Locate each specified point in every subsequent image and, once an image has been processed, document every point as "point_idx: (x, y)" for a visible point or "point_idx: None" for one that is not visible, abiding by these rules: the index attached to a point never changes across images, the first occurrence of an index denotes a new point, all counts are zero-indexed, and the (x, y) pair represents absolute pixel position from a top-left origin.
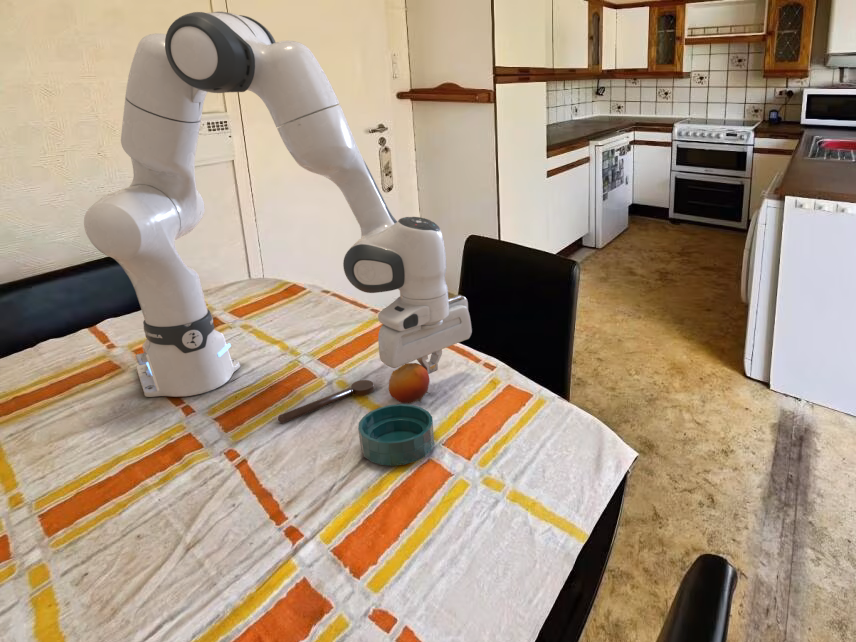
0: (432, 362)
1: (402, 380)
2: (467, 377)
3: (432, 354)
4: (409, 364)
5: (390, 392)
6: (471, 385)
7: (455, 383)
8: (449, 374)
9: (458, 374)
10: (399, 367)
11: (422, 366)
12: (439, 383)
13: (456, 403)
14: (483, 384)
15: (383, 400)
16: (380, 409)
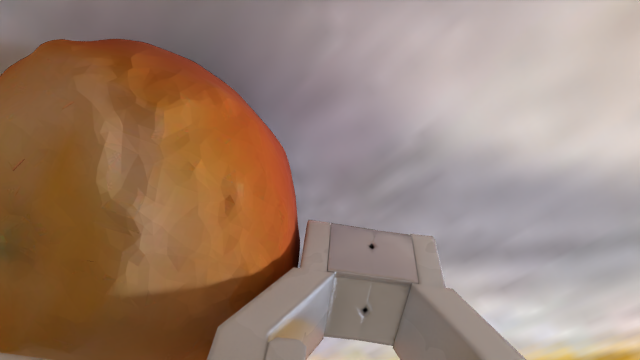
0: (402, 317)
1: None
2: (610, 250)
3: (461, 352)
4: (83, 341)
5: None
6: (520, 312)
7: (499, 241)
8: (608, 139)
9: (632, 186)
10: (77, 145)
11: None
12: (447, 169)
13: (316, 347)
14: (561, 346)
15: (17, 30)
16: None
